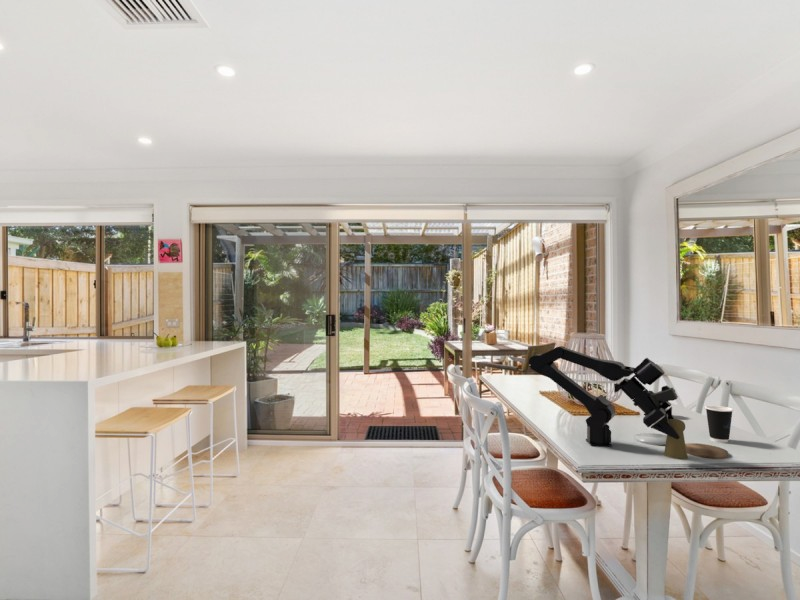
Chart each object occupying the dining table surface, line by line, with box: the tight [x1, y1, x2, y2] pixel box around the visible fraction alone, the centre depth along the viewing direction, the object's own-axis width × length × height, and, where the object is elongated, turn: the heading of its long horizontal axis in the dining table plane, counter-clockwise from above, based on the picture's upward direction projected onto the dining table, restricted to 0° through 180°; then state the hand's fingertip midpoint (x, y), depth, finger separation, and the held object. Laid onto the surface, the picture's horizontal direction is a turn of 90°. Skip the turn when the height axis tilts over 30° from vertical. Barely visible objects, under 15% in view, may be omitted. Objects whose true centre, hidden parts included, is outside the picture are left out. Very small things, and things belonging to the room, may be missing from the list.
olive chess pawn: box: [663, 418, 688, 460], centre depth 139 cm, size 6×6×11 cm
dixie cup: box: [704, 405, 734, 444], centre depth 155 cm, size 8×8×11 cm
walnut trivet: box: [685, 442, 729, 460], centre depth 142 cm, size 12×12×1 cm
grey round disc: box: [633, 432, 667, 446], centre depth 155 cm, size 12×12×1 cm
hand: (680, 435), depth 138 cm, fingers open, 8 cm apart
